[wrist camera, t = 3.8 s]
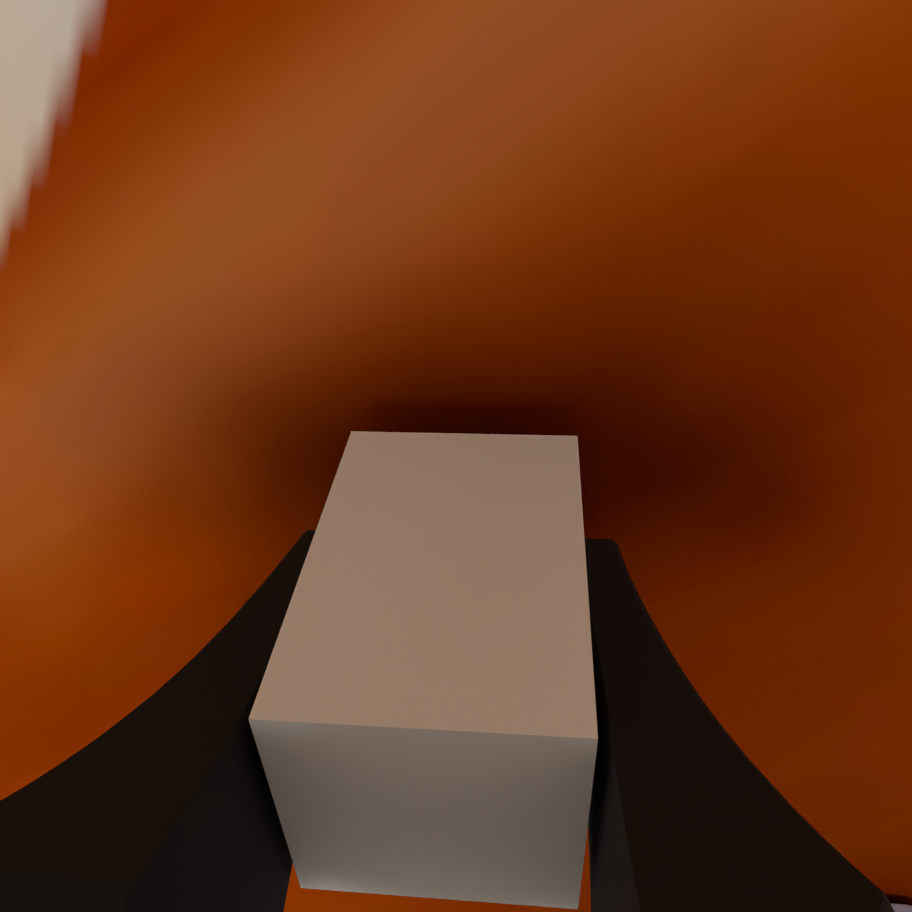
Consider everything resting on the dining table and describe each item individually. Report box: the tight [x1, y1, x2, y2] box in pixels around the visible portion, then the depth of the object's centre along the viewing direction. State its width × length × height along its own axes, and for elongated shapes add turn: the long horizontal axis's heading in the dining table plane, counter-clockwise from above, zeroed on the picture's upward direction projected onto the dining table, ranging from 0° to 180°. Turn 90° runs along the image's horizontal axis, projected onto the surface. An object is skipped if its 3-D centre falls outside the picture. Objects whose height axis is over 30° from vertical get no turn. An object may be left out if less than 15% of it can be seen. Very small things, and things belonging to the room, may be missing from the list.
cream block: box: [248, 431, 598, 909], centre depth 12 cm, size 4×4×6 cm
